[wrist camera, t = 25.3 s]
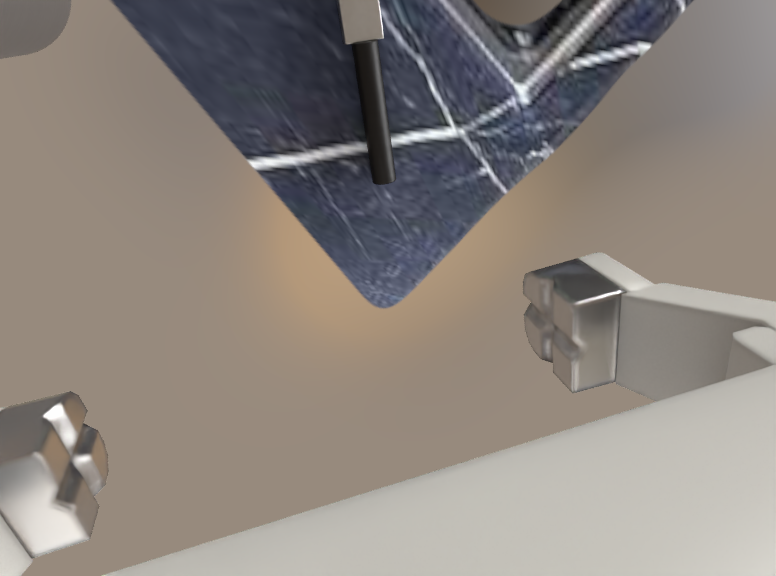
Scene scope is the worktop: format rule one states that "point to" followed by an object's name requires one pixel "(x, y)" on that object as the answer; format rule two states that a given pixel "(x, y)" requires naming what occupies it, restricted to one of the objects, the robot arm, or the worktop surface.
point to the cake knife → (369, 81)
